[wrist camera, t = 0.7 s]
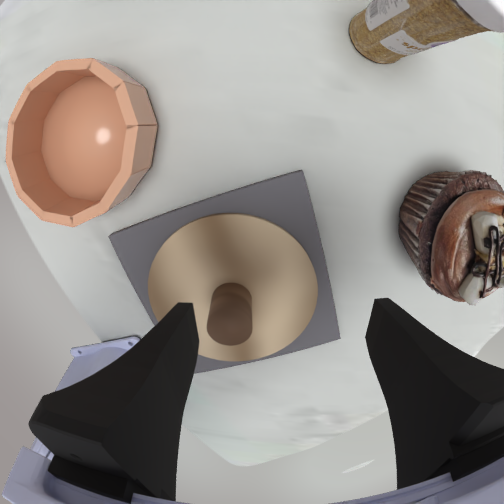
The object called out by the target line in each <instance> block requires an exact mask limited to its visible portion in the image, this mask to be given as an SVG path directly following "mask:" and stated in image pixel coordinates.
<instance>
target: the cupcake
mask: <svg viewBox="0 0 504 504" xmlns="http://www.w3.org/2000/svg"><path fill="white" fill-rule="evenodd" d="M399 217H400V223H399V235H400V238H401V240H402V242H403V244H404V246H405V249H406V250H407V252H408V254H409V255H410V257H411V259H412V260H413V262H414V264H415V266H416V267H417V269H418V271H419V273H420V275H421V277H422V279H423V280H424V281H425V282H426V284H427V285H428V286H429V287H431V289H432V290H435V291H436V293H437V294H439V293H440V294H441V295H444V296H446V297H448V298H451V299H452V300H454V301H458V302H465V301H466V302H467V303H468V304H469V305H476V304H477V303H478V302H479V301H480V300H481V299H482V298H485V297H486V296H488V295H490V294H491V293H493V292H494V291H495V290H497V289H498V288H502V287H504V191H503V189H502V187H501V185H499V184H498V182H497V180H494V179H493V178H491V175H487V174H486V172H480V171H473V170H469V171H463V172H447V171H445V172H436V173H433V174H430V175H427V176H425V177H423V178H422V179H421V180H418V181H417V182H416V183H415V184H413V185H412V187H411V188H410V190H409V191H408V194H407V195H406V196H405V199H404V201H403V203H402V205H401V207H400V216H399Z"/></svg>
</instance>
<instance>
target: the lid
mask: <svg viewBox="0 0 504 504" xmlns="http://www.w3.org/2000/svg"><path fill="white" fill-rule="evenodd" d="M148 295H149V301H150V304H151V307H152V310H153V313H154V315H155V317H156V319H157V320H158V322H159V321H160V320H161V319H162V318H163V317H164V316H165V315H166V314H167V313H168V312H169V311H170V310H171V309H172V308H173V307H174V306H175V305H176V304H177V303H178V302H187V303H193V307H194V313H195V318H196V324H197V330H198V335H199V341H200V342H199V349H198V354H199V355H201V356H204V357H208V358H211V359H216V360H222V361H249V360H254V359H259V358H262V357H266V356H268V355H271V354H273V353H276V352H278V351H279V350H281V349H283V348H285V347H286V346H288V345H289V344H290V343H292V342H293V341H294V340H295V339H296V338H297V337H298V336H299V335H300V334H301V333H302V332H303V331H304V329H305V328H306V326H307V325H308V323H309V322H310V320H311V318H312V316H313V314H314V310H315V307H316V303H317V297H318V284H317V278H316V274H315V271H314V267H313V265H312V263H311V261H310V259H309V257H308V255H307V253H306V251H305V250H304V248H303V247H302V246H301V244H300V243H299V242H298V241H297V240H296V239H295V238H294V237H293V236H292V235H291V234H290V233H289V232H287V231H286V230H285V229H283V228H282V227H280V226H278V225H277V224H275V223H273V222H271V221H269V220H266V219H264V218H261V217H257V216H254V215H250V214H243V213H218V214H212V215H208V216H204V217H201V218H198V219H196V220H193V221H191V222H189V223H187V224H186V225H184V226H182V227H180V228H179V229H178V230H177V231H175V232H174V233H173V234H172V235H171V236H170V237H169V238H168V239H167V240H166V241H165V242H164V244H163V245H162V247H161V248H160V250H159V251H158V253H157V254H156V256H155V258H154V260H153V262H152V265H151V268H150V272H149V278H148Z"/></svg>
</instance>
